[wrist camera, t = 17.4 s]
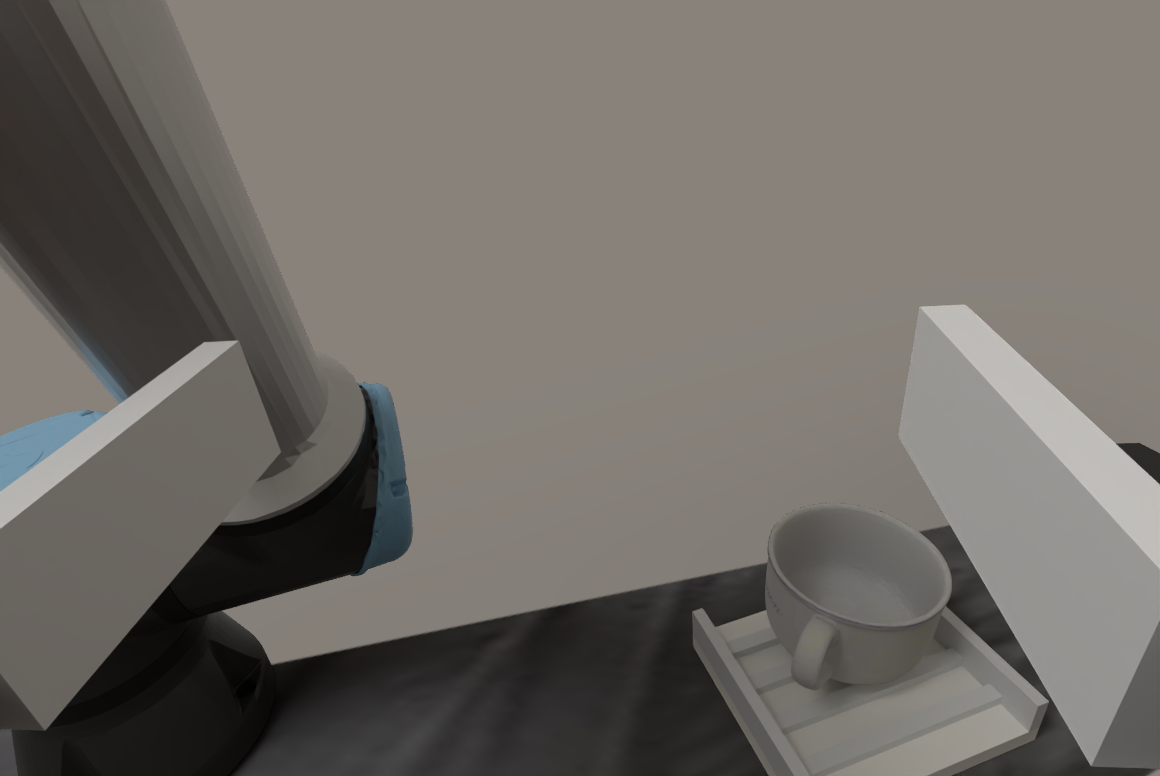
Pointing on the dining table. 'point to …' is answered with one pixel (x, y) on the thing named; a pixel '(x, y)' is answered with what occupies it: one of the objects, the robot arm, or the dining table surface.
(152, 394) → the robot arm
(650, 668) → the dining table surface
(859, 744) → the drying rack
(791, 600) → the teacup
